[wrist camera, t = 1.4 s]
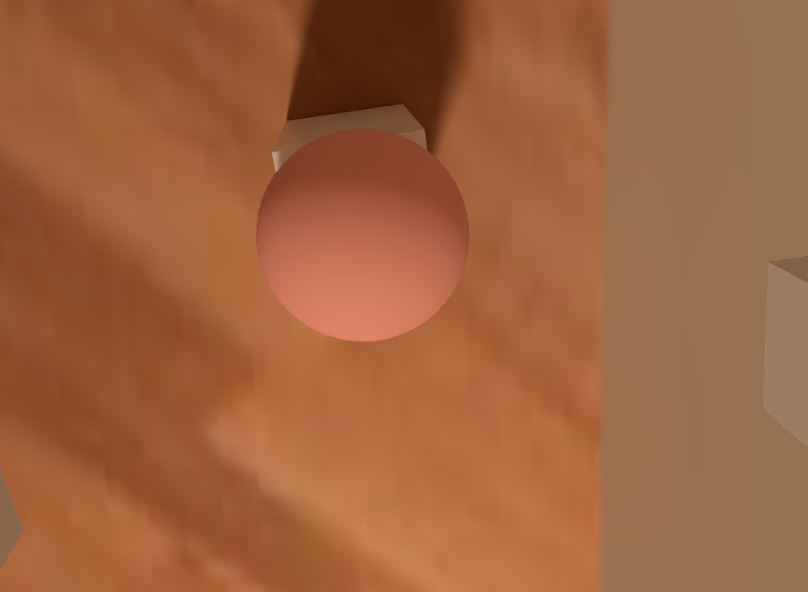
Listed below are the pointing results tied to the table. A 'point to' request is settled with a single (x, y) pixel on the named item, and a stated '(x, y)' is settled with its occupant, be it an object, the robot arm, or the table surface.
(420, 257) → the ball
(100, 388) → the table surface
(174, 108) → the table surface
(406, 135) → the hollow square tube
